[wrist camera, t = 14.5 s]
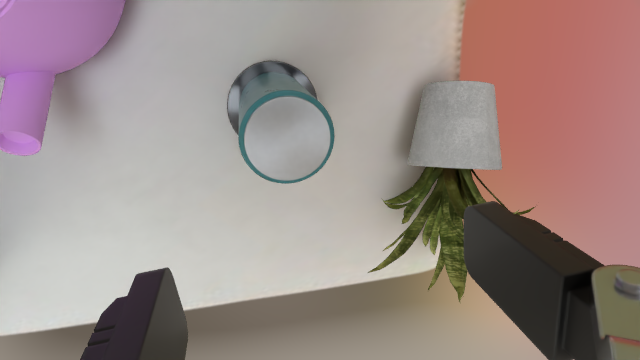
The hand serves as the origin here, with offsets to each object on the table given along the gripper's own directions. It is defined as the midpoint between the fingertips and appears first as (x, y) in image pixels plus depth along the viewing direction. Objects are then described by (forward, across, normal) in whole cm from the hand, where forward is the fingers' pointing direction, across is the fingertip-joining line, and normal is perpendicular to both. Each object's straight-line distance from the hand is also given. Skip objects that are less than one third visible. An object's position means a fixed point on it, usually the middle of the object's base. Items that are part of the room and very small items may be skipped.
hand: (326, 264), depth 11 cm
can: (+23, 0, 0) cm, 23 cm away
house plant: (+21, -16, 0) cm, 26 cm away
